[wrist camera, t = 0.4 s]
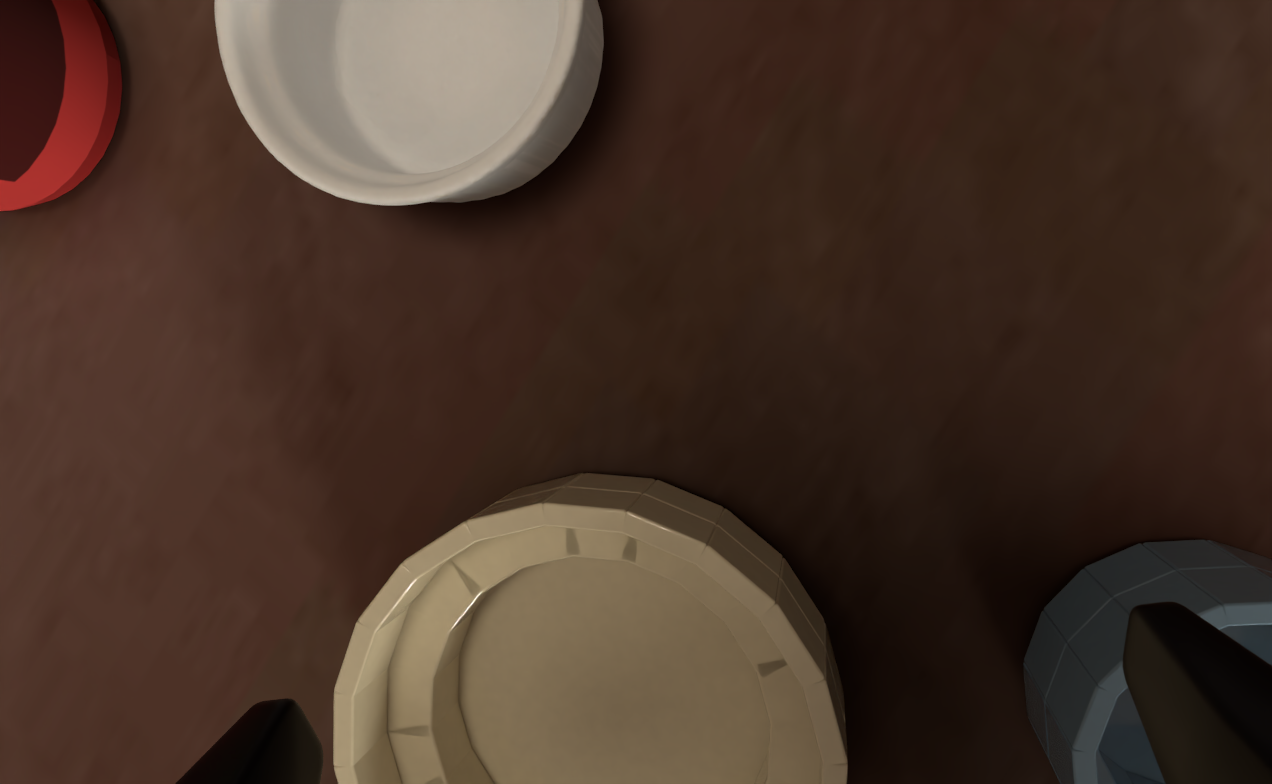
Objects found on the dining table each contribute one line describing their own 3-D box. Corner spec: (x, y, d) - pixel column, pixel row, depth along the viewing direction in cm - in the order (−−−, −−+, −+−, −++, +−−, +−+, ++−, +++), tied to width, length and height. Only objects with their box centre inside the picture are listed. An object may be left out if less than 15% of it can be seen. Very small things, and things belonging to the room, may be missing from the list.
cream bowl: (941, 682, 23) (968, 763, 19) (648, 983, 26) (615, 1113, 21) (578, 378, 24) (529, 394, 20) (332, 695, 27) (244, 767, 23)
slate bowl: (1411, 671, 21) (1591, 784, 16) (1187, 871, 22) (1289, 1030, 17) (1161, 474, 22) (1260, 525, 17) (959, 681, 23) (996, 783, 18)
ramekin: (345, 247, 25) (249, 236, 21) (286, -74, 25) (175, -151, 20) (651, 187, 23) (613, 161, 19) (594, -163, 23) (543, -269, 19)
